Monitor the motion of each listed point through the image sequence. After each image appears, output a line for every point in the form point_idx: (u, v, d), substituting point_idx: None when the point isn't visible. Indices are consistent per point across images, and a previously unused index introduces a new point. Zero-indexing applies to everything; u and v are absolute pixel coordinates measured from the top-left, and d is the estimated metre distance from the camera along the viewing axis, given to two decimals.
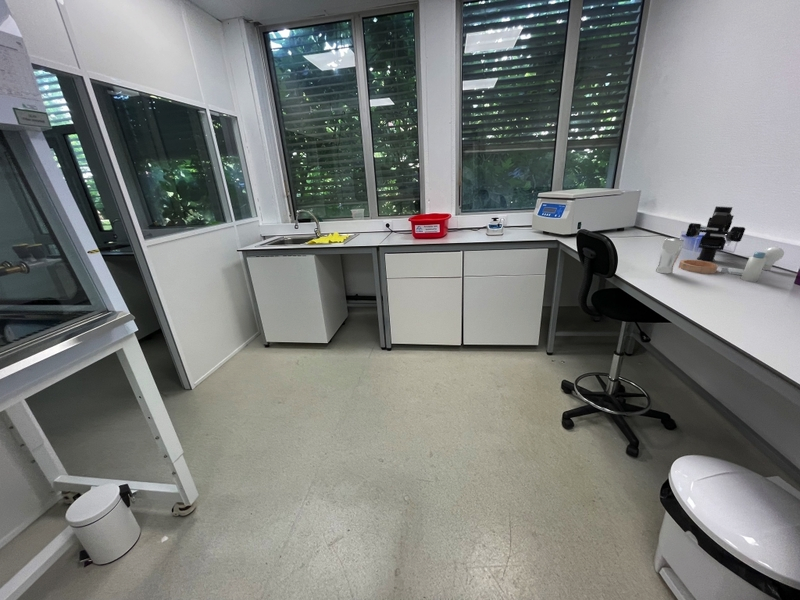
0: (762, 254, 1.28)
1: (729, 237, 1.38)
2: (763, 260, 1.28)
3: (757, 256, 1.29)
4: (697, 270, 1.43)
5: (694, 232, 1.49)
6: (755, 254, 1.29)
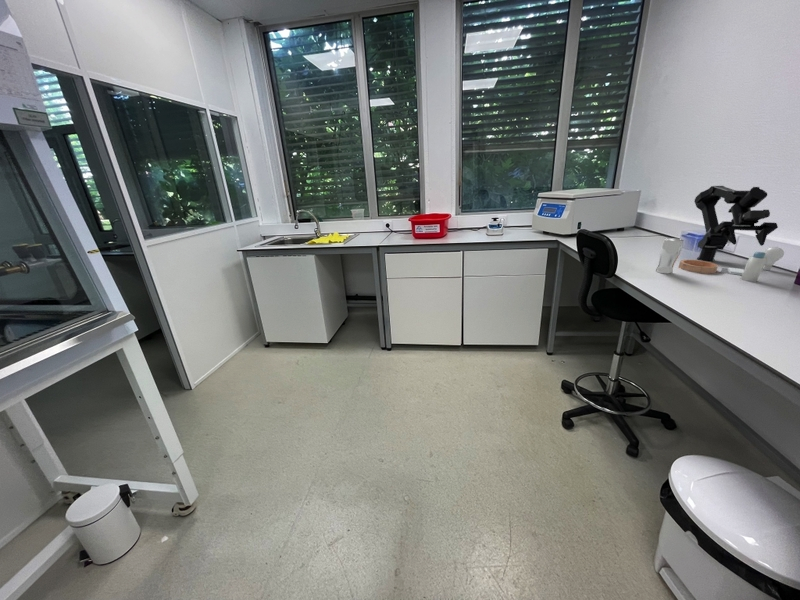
0: (762, 254, 1.28)
1: None
2: (763, 260, 1.28)
3: (757, 256, 1.29)
4: (697, 270, 1.43)
5: (726, 232, 1.40)
6: (755, 254, 1.29)
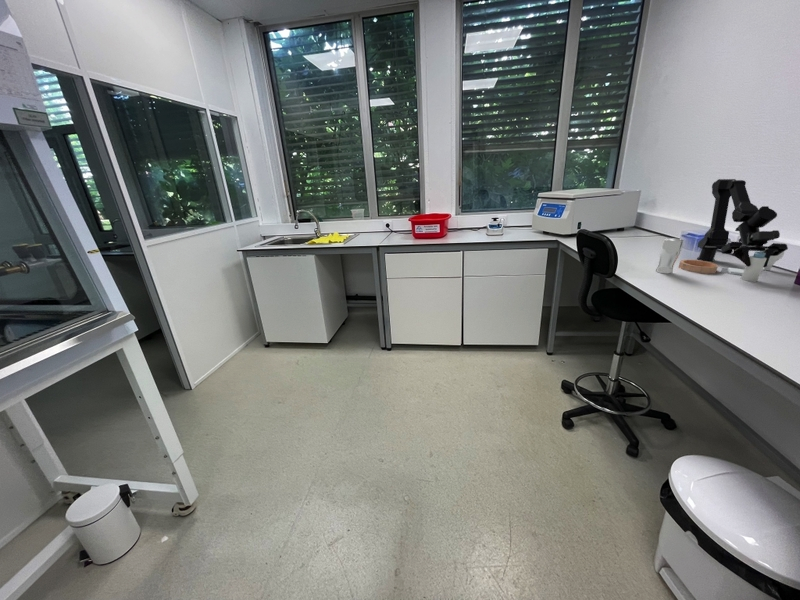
0: (762, 254, 1.28)
1: None
2: (763, 260, 1.28)
3: (757, 256, 1.29)
4: (697, 270, 1.43)
5: (739, 253, 1.34)
6: (755, 254, 1.29)
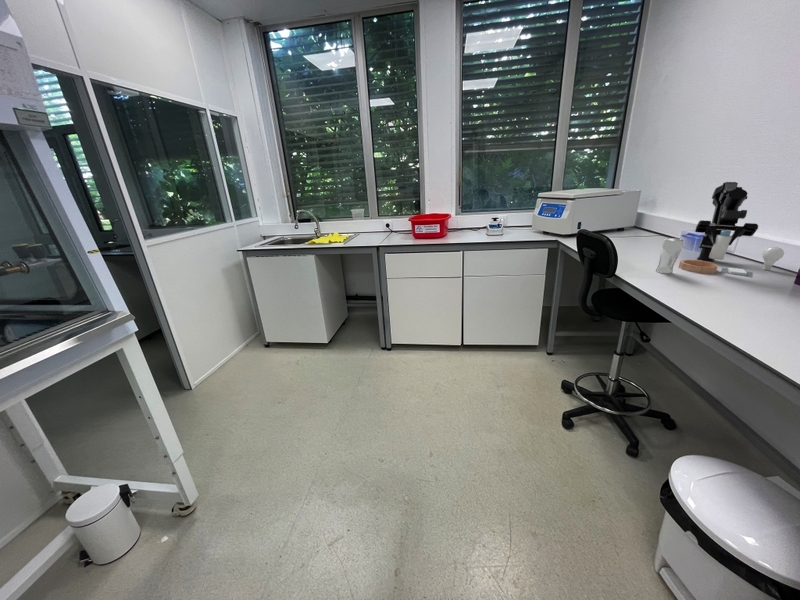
0: (726, 232, 1.35)
1: None
2: (726, 238, 1.35)
3: (722, 234, 1.37)
4: (697, 270, 1.43)
5: (710, 231, 1.42)
6: (721, 232, 1.37)
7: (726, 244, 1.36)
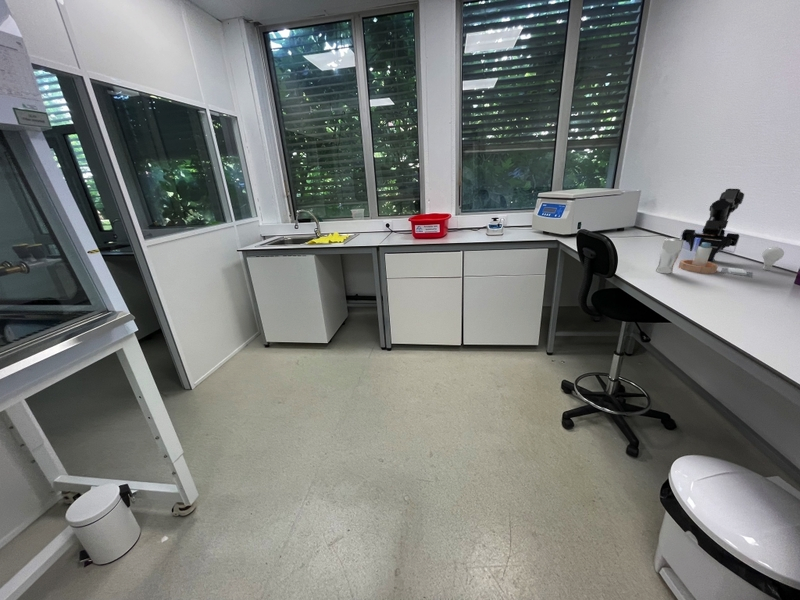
0: (705, 244, 1.42)
1: (719, 250, 1.42)
2: (705, 249, 1.42)
3: (702, 246, 1.44)
4: (697, 270, 1.43)
5: (690, 239, 1.50)
6: None
7: (705, 255, 1.43)
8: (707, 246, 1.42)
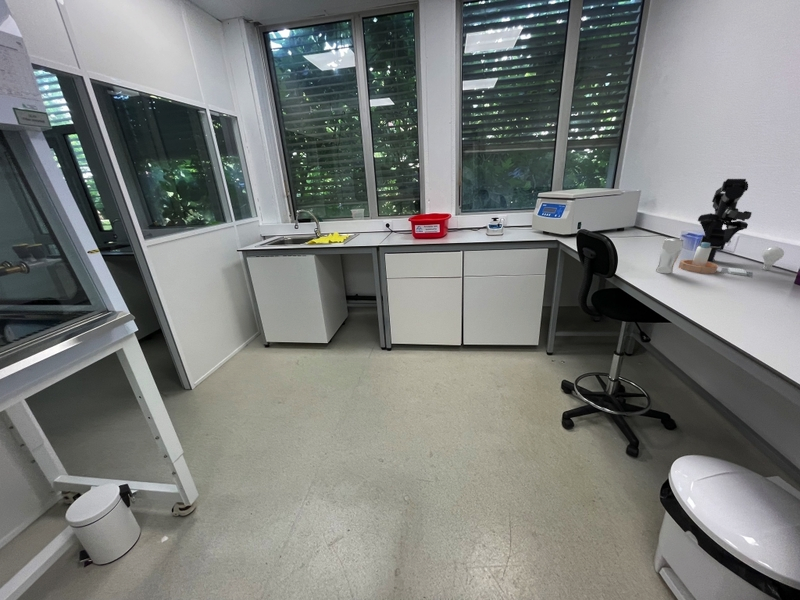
0: (705, 244, 1.43)
1: None
2: (705, 249, 1.43)
3: (701, 246, 1.44)
4: (697, 270, 1.43)
5: (706, 223, 1.46)
6: (701, 244, 1.44)
7: (705, 255, 1.43)
8: (707, 246, 1.43)
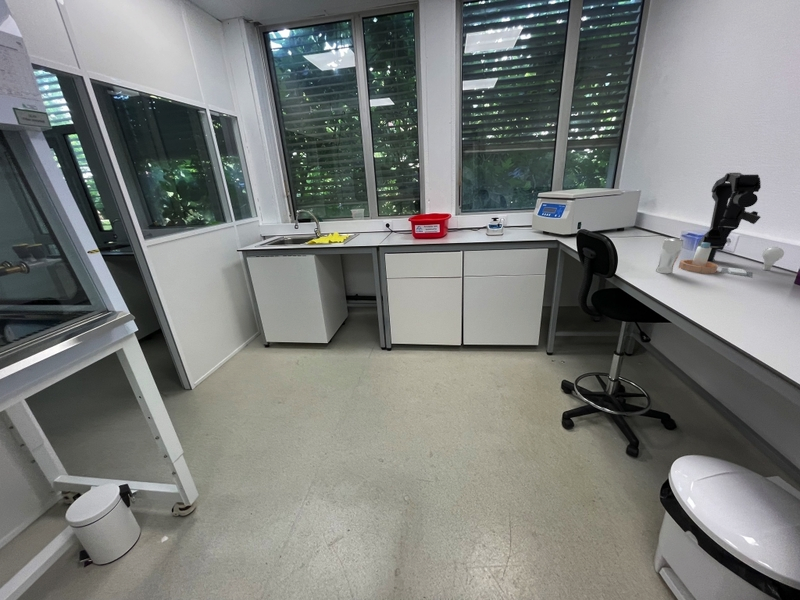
0: (705, 244, 1.43)
1: None
2: (705, 249, 1.43)
3: (701, 246, 1.44)
4: (697, 270, 1.43)
5: (725, 227, 1.40)
6: (701, 244, 1.44)
7: (705, 255, 1.43)
8: (707, 246, 1.43)
